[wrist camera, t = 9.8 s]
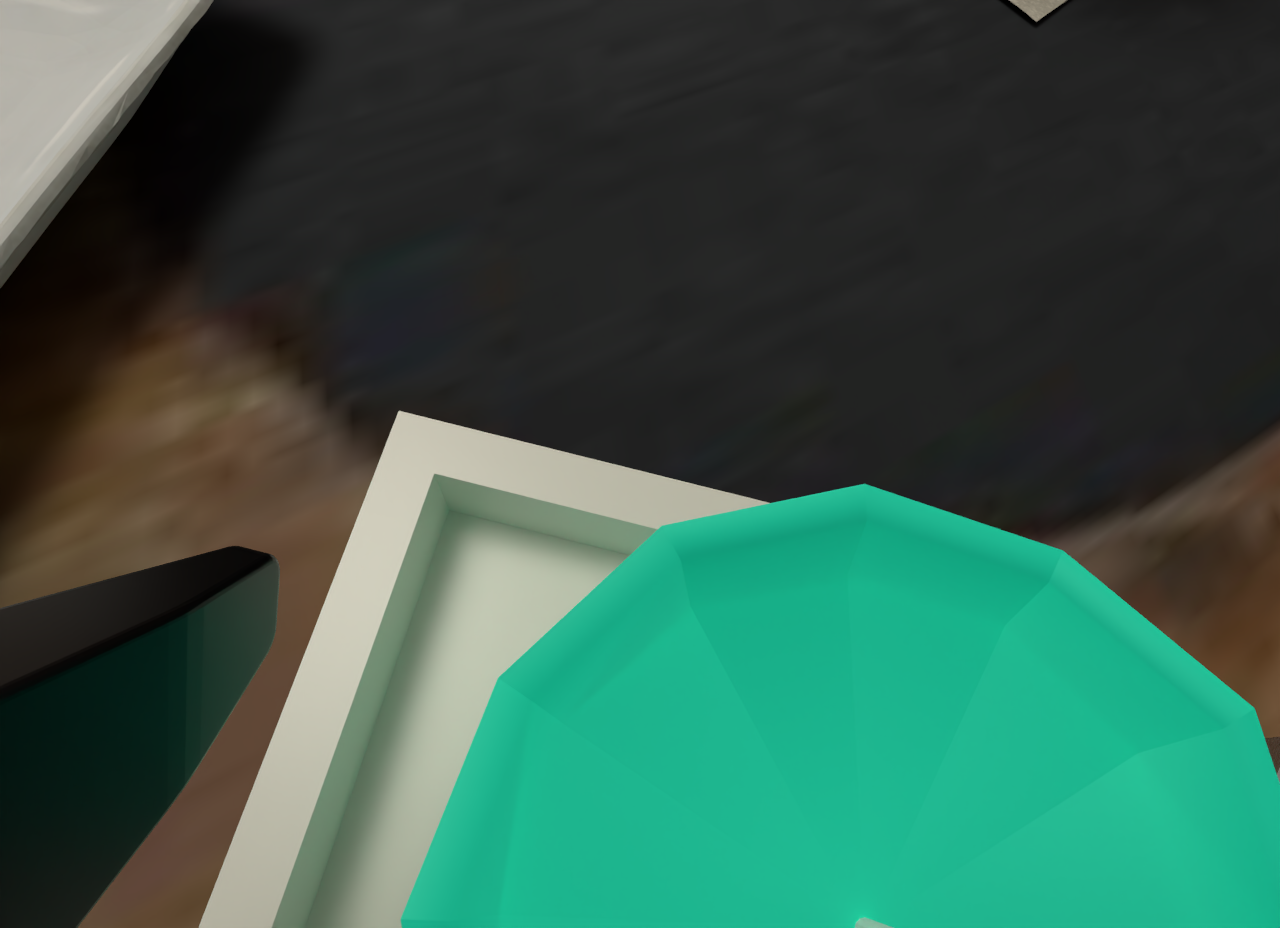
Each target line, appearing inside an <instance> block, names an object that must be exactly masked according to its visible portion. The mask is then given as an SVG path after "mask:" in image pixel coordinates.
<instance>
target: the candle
mask: <svg viewBox="0 0 1280 928" xmlns="http://www.w3.org/2000/svg"><path fill="white" fill-rule="evenodd" d="M401 927H402V928H1280V782H1279V779H1278V776H1277V774H1276V771H1275V768H1274V765H1273V762H1272V759H1271V756H1270V753H1269V750H1268V747H1267V744H1266V741H1265V738H1264V735H1263V732H1262V729H1261V726H1260V723H1259V720H1258V717H1257V714H1256V711H1255V708H1254V707H1252V706H1251V705H1250V704H1249V703H1248V702H1246V701H1245V700H1244V699H1243V698H1241V697H1240V696H1239V695H1238V694H1237V693H1235V692H1234V691H1233V690H1232V689H1231V688H1229V687H1228V686H1227V685H1226V684H1224V683H1223V682H1222V681H1221V680H1220V679H1218V678H1217V677H1216V676H1215V675H1214V674H1212V673H1211V672H1210V671H1209V670H1207V669H1206V668H1205V667H1204V666H1203V665H1201V664H1200V663H1199V662H1198V661H1197V660H1195V659H1194V658H1193V657H1192V656H1190V655H1189V654H1188V653H1187V652H1186V651H1184V650H1183V649H1182V648H1181V647H1180V646H1178V645H1177V644H1176V643H1175V642H1173V641H1172V640H1171V639H1170V638H1169V637H1167V636H1166V635H1165V634H1164V633H1163V632H1161V631H1160V630H1159V629H1158V628H1156V627H1155V626H1154V625H1153V624H1152V623H1150V622H1149V621H1148V620H1147V619H1146V618H1144V617H1143V616H1142V615H1141V614H1139V613H1138V612H1137V611H1136V610H1135V609H1133V608H1132V607H1131V606H1130V605H1129V604H1127V603H1126V602H1125V601H1124V600H1122V599H1121V598H1120V597H1119V596H1118V595H1116V594H1115V593H1114V592H1113V591H1112V590H1110V589H1109V588H1108V587H1107V586H1105V585H1104V584H1103V583H1102V582H1101V581H1099V580H1098V579H1097V578H1096V577H1095V576H1093V575H1092V574H1091V573H1090V572H1088V571H1087V570H1086V569H1085V568H1084V567H1082V566H1081V565H1080V564H1079V563H1078V562H1076V561H1075V560H1074V559H1073V558H1071V557H1070V556H1069V555H1068V554H1067V553H1065V552H1064V551H1063V550H1060V549H1057V548H1054V547H1051V546H1048V545H1045V544H1042V543H1039V542H1036V541H1033V540H1030V539H1027V538H1024V537H1021V536H1018V535H1015V534H1012V533H1009V532H1006V531H1003V530H1000V529H997V528H994V527H991V526H988V525H985V524H982V523H979V522H976V521H973V520H971V519H968V518H965V517H962V516H959V515H956V514H953V513H950V512H947V511H944V510H941V509H938V508H935V507H932V506H929V505H926V504H923V503H920V502H917V501H914V500H911V499H908V498H905V497H902V496H899V495H896V494H893V493H890V492H887V491H884V490H881V489H878V488H875V487H872V486H869V485H866V484H862V485H857V486H852V487H847V488H842V489H837V490H833V491H828V492H823V493H818V494H813V495H808V496H803V497H799V498H794V499H789V500H784V501H779V502H774V503H769V504H765V505H760V506H755V507H750V508H745V509H740V510H735V511H731V512H726V513H721V514H716V515H711V516H706V517H701V518H697V519H692V520H687V521H682V522H677V523H672V524H667V525H662V526H661V527H660V528H659V529H658V530H657V531H655V532H654V533H653V534H652V535H651V536H650V537H649V538H648V539H647V540H646V541H645V542H644V543H643V544H641V545H640V546H639V547H638V548H637V549H636V550H635V551H634V552H633V553H632V554H631V555H630V556H629V557H627V558H626V559H625V560H624V561H623V562H622V563H621V564H620V565H619V566H618V567H617V568H616V569H615V570H613V571H612V572H611V573H610V574H609V575H608V576H607V577H606V578H605V579H604V580H603V581H602V582H601V583H599V584H598V585H597V586H596V587H595V588H594V589H593V590H592V591H591V592H590V593H589V594H588V595H587V596H585V597H584V598H583V599H582V600H581V601H580V602H579V603H578V604H577V605H576V606H575V607H574V608H573V609H571V610H570V611H569V612H568V613H567V614H566V615H565V616H564V617H563V618H562V619H561V620H560V621H559V622H557V623H556V624H555V625H554V626H553V627H552V628H551V629H550V630H549V631H548V632H547V633H546V634H545V635H544V636H542V637H541V638H540V639H539V640H538V641H537V642H536V643H535V644H534V645H533V646H532V647H531V648H530V649H528V650H527V651H526V652H525V653H524V654H523V655H522V656H521V657H520V658H519V659H518V660H517V661H516V662H514V663H513V664H512V665H511V666H510V667H509V668H508V669H507V670H506V671H505V672H504V673H503V674H502V675H500V676H499V677H498V679H497V681H496V684H495V686H494V689H493V691H492V694H491V696H490V699H489V701H488V704H487V706H486V709H485V711H484V714H483V716H482V718H481V721H480V723H479V726H478V728H477V731H476V733H475V736H474V738H473V741H472V743H471V746H470V748H469V751H468V753H467V756H466V758H465V761H464V763H463V766H462V768H461V771H460V773H459V775H458V778H457V780H456V783H455V785H454V788H453V790H452V793H451V795H450V798H449V800H448V803H447V805H446V808H445V810H444V813H443V815H442V818H441V820H440V823H439V825H438V828H437V830H436V832H435V835H434V837H433V840H432V842H431V845H430V847H429V850H428V852H427V855H426V857H425V860H424V862H423V865H422V867H421V870H420V872H419V875H418V877H417V880H416V882H415V884H414V887H413V889H412V892H411V894H410V897H409V899H408V902H407V904H406V907H405V909H404V912H403V914H402V917H401Z"/></svg>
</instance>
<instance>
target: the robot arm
mask: <svg viewBox="0 0 1280 928" xmlns="http://www.w3.org/2000/svg"><path fill="white" fill-rule="evenodd" d="M279 577H280V568H279V563H278V561H277V559H276V558H275V557H274V556H273V555H271V554H268V553H264V552H260V551H256V550H252V549H248V548H244V547H240V546H230V547H226V548H223V549H219V550H215V551H211V552H208V553H204V554H200V555H196V556H193V557H189V558H185V559H182V560H178V561H174V562H170V563H167V564H163V565H159V566H155V567H152V568H148V569H144V570H141V571H137V572H133V573H129V574H126V575H122V576H118V577H115V578H111V579H107V580H103V581H100V582H96V583H92V584H88V585H85V586H81V587H77V588H74V589H70V590H66V591H62V592H59V593H55V594H51V595H47V596H44V597H40V598H36V599H33V600H29V601H25V602H21V603H18V604H14V605H10V606H7V607H3V608H0V928H77V927H78V926H79V925H80V923H81V922H82V921H83V920H84V918H85V917H86V916H87V914H88V913H89V912H90V911H91V909H92V908H93V907H94V905H95V904H96V903H97V901H98V900H99V899H100V898H101V896H102V895H103V894H104V892H105V891H106V890H107V889H108V887H109V886H110V885H111V883H112V882H113V881H114V879H115V878H116V877H117V876H118V874H119V873H120V872H121V870H122V869H123V868H124V866H125V865H126V864H127V863H128V861H129V860H130V859H131V857H132V856H133V855H134V854H135V852H136V851H137V850H138V848H139V847H140V846H141V844H142V843H143V842H144V841H145V839H146V838H147V837H148V835H149V834H150V833H151V832H152V830H153V829H154V828H155V826H156V825H157V824H158V822H159V821H160V820H161V819H162V817H163V816H164V815H165V813H166V812H167V811H168V809H169V808H170V807H171V805H172V804H173V803H174V801H175V800H176V799H177V797H178V796H179V794H180V793H181V792H182V790H183V789H184V788H185V786H186V785H187V783H188V782H189V780H190V778H191V777H192V775H193V774H194V772H195V771H196V769H197V768H198V766H199V765H200V763H201V761H202V760H203V758H204V756H205V755H206V753H207V752H208V750H209V748H210V747H211V745H212V743H213V742H214V740H215V739H216V737H217V735H218V734H219V732H220V730H221V729H222V727H223V725H224V724H225V722H226V721H227V719H228V717H229V716H230V714H231V712H232V711H233V709H234V708H235V706H236V704H237V703H238V701H239V699H240V698H241V696H242V694H243V693H244V691H245V690H246V688H247V686H248V685H249V683H250V681H251V680H252V678H253V677H254V675H255V673H256V672H257V670H258V668H259V667H260V665H261V663H262V662H263V660H264V659H265V657H266V655H267V654H268V652H269V650H270V647H271V645H272V642H273V639H274V636H275V632H276V623H277V608H278V593H279Z"/></svg>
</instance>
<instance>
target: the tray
mask: <svg viewBox="0 0 1280 928" xmlns="http://www.w3.org/2000/svg"><path fill="white" fill-rule="evenodd" d="M765 504H769V503H767V502H763V501H759V500H755V499H751V498H747V497H743V496H739V495H735V494H731V493H727V492H723V491H719V490H715V489H711V488H707V487H703V486H699V485H695V484H691V483H687V482H683V481H679V480H675V479H671V478H667V477H663V476H659V475H655V474H651V473H647V472H643V471H639V470H635V469H631V468H627V467H623V466H619V465H615V464H611V463H607V462H603V461H599V460H595V459H590V458H586V457H582V456H578V455H574V454H570V453H566V452H562V451H558V450H554V449H550V448H546V447H542V446H538V445H534V444H530V443H526V442H522V441H518V440H514V439H510V438H506V437H502V436H498V435H494V434H490V433H486V432H482V431H478V430H474V429H470V428H466V427H462V426H458V425H454V424H450V423H446V422H442V421H438V420H434V419H430V418H426V417H422V416H418V415H414V414H410V413H406V412H401V411H399V412H398V414H397V417H396V420H395V422H394V425H393V427H392V430H391V433H390V435H389V438H388V440H387V443H386V445H385V448H384V451H383V453H382V456H381V458H380V461H379V463H378V466H377V469H376V471H375V474H374V476H373V479H372V482H371V484H370V487H369V489H368V492H367V494H366V497H365V500H364V502H363V505H362V507H361V510H360V512H359V515H358V518H357V520H356V523H355V525H354V528H353V531H352V533H351V536H350V538H349V541H348V543H347V546H346V549H345V551H344V554H343V556H342V559H341V562H340V564H339V567H338V569H337V572H336V574H335V577H334V580H333V582H332V585H331V587H330V590H329V592H328V595H327V598H326V600H325V603H324V605H323V608H322V611H321V613H320V616H319V618H318V621H317V623H316V626H315V629H314V631H313V634H312V636H311V639H310V641H309V644H308V647H307V649H306V652H305V654H304V657H303V660H302V662H301V665H300V667H299V670H298V672H297V675H296V678H295V680H294V683H293V685H292V688H291V690H290V693H289V696H288V698H287V701H286V703H285V706H284V709H283V711H282V714H281V716H280V719H279V721H278V724H277V727H276V729H275V732H274V734H273V737H272V739H271V742H270V745H269V747H268V750H267V752H266V755H265V758H264V760H263V763H262V765H261V768H260V770H259V773H258V776H257V778H256V781H255V783H254V786H253V788H252V791H251V794H250V796H249V799H248V801H247V804H246V807H245V809H244V812H243V814H242V817H241V819H240V822H239V825H238V827H237V830H236V832H235V835H234V838H233V840H232V843H231V845H230V848H229V850H228V853H227V856H226V858H225V861H224V863H223V866H222V868H221V871H220V874H219V876H218V879H217V881H216V884H215V887H214V889H213V892H212V894H211V897H210V899H209V902H208V905H207V907H206V910H205V912H204V915H203V917H202V920H201V923H200V925H199V928H402V927H401V917H402V914H403V912H404V909H405V907H406V904H407V902H408V899H409V897H410V894H411V892H412V889H413V887H414V884H415V882H416V880H417V877H418V875H419V872H420V870H421V867H422V865H423V862H424V860H425V857H426V855H427V852H428V850H429V847H430V845H431V842H432V840H433V837H434V835H435V832H436V830H437V828H438V825H439V823H440V820H441V818H442V815H443V813H444V810H445V808H446V805H447V803H448V800H449V798H450V795H451V793H452V790H453V788H454V785H455V783H456V780H457V778H458V775H459V773H460V771H461V768H462V766H463V763H464V761H465V758H466V756H467V753H468V751H469V748H470V746H471V743H472V741H473V738H474V736H475V733H476V731H477V728H478V726H479V723H480V721H481V718H482V716H483V714H484V711H485V709H486V706H487V704H488V701H489V699H490V696H491V694H492V691H493V689H494V686H495V684H496V681H497V679H498V677H499V676H500V675H502V674H503V673H504V672H505V671H506V670H507V669H508V668H509V667H510V666H511V665H512V664H513V663H514V662H516V661H517V660H518V659H519V658H520V657H521V656H522V655H523V654H524V653H525V652H526V651H527V650H528V649H530V648H531V647H532V646H533V645H534V644H535V643H536V642H537V641H538V640H539V639H540V638H541V637H542V636H544V635H545V634H546V633H547V632H548V631H549V630H550V629H551V628H552V627H553V626H554V625H555V624H556V623H557V622H559V621H560V620H561V619H562V618H563V617H564V616H565V615H566V614H567V613H568V612H569V611H570V610H571V609H573V608H574V607H575V606H576V605H577V604H578V603H579V602H580V601H581V600H582V599H583V598H584V597H585V596H587V595H588V594H589V593H590V592H591V591H592V590H593V589H594V588H595V587H596V586H597V585H598V584H599V583H601V582H602V581H603V580H604V579H605V578H606V577H607V576H608V575H609V574H610V573H611V572H612V571H613V570H615V569H616V568H617V567H618V566H619V565H620V564H621V563H622V562H623V561H624V560H625V559H626V558H627V557H629V556H630V555H631V554H632V553H633V552H634V551H635V550H636V549H637V548H638V547H639V546H640V545H641V544H643V543H644V542H645V541H646V540H647V539H648V538H649V537H650V536H651V535H652V534H653V533H654V532H655V531H657V530H658V529H659V528H660V527H661V526H662V525H667V524H672V523H677V522H682V521H687V520H692V519H697V518H701V517H706V516H711V515H716V514H721V513H726V512H731V511H735V510H740V509H745V508H750V507H755V506H760V505H765Z"/></svg>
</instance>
